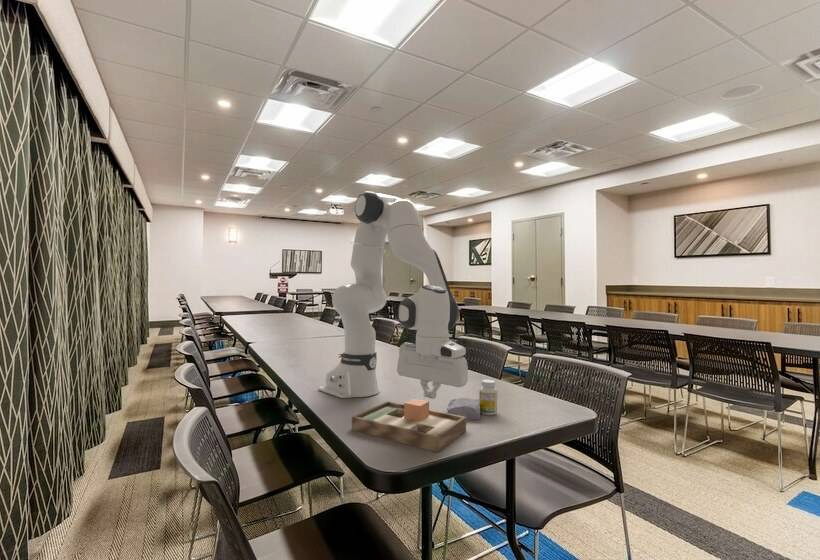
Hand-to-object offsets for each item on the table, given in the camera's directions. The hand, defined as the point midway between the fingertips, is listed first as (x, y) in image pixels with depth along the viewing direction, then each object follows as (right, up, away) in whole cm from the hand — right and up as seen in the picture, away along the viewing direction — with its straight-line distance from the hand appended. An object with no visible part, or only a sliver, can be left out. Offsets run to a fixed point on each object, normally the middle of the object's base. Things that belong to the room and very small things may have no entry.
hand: (430, 397), depth 103 cm
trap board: (-6, -8, -1) cm, 10 cm away
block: (-4, -6, +3) cm, 7 cm away
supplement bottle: (+19, -9, +14) cm, 25 cm away
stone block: (+11, -9, +14) cm, 20 cm away
